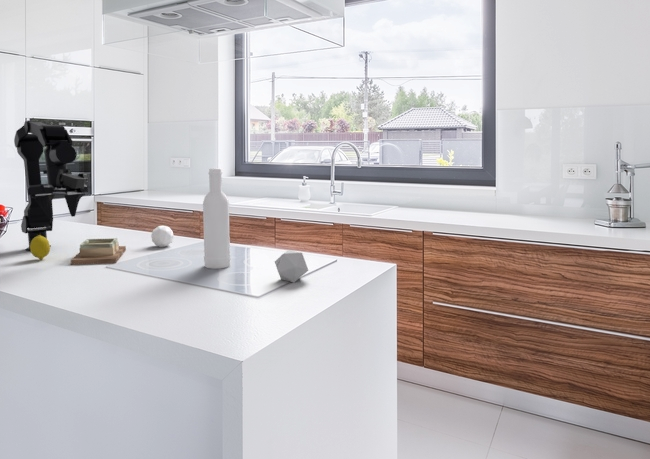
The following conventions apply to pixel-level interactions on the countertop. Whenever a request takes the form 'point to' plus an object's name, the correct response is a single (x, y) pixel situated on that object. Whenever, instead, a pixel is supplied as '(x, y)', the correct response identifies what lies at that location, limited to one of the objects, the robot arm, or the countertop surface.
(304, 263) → the die
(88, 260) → the plinth
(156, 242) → the ball
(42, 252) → the lemon
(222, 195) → the bottle
